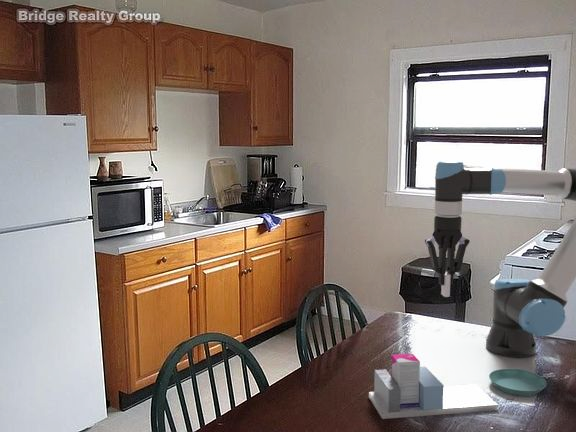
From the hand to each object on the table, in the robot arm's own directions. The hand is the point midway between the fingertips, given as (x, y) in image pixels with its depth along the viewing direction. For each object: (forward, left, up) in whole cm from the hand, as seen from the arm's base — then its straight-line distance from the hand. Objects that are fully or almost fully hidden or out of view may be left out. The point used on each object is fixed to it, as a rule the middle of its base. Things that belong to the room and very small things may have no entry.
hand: (445, 295), depth 169 cm
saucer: (-15, +15, -23) cm, 31 cm away
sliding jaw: (+14, +21, -21) cm, 33 cm away
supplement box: (+19, +21, -21) cm, 36 cm away
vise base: (+12, +21, -22) cm, 33 cm away
